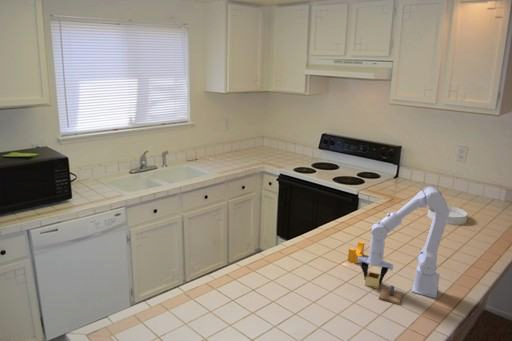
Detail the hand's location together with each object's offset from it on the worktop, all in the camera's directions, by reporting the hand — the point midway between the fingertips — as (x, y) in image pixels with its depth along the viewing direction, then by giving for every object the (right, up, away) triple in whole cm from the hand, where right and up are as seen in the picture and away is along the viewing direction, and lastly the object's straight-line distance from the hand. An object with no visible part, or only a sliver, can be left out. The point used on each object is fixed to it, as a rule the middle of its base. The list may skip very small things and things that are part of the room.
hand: (373, 281), depth 184 cm
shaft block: (+5, -4, -9) cm, 11 cm away
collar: (0, -1, 0) cm, 1 cm away
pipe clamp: (-1, +4, +24) cm, 24 cm away
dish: (+67, +17, +82) cm, 107 cm away
